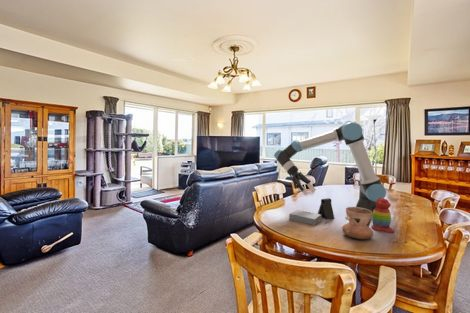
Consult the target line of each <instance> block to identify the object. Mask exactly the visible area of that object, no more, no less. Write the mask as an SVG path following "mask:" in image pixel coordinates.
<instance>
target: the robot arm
mask: <svg viewBox="0 0 470 313" xmlns="http://www.w3.org/2000/svg"><path fill="white" fill-rule="evenodd" d="M364 140H365V137H364V134H363V127H362V125H361V124H360V123H358V122H356V121H355V122H354V121H349V122H346V123H344V124H343V125H341V126H338V127H335V128H333V130H330V131H328V132H324V133H322V134H318V135H314V136H312V137H309V138H305V139H302V140H299V141H298V140H293V141H292V142H291V143H289V145H287V147H286V148H284V149H281V148H279V149H278V150H276V151H275V152H274V155H273V156H274V158H275V159H276V161H277V163H279V164H280V165H281V167H282V168H283V170H285V172H286V173H287V174H288V176H289V177H290V178H291V181H292V183H293V184H294V187H296V189H299V190H300V191H301V193H302V194H303V196H307V195H308V194H309V192H308V190H306V188H305V187H304V186H303V185H302V184H301V182H303V183H305V185H307V187H308V188H309V189H310V191H311V192H312V193H315V191H317V190H316V188H315V186H313V184H312V183H311V182H312V181H311V180H310V178H308V177H307V176H306V175H304V174H303V173H302V172H301V171H299V168H298V167H297V165H295V163H294V162H293V161H292V160H291V159H292V157H294V156H295V155H296V154H297V153H300V152H302V151H306V150H309V149H314V148H316V147H319V146H323V145H326V144H330V143H334V142H342V141H344V143H345V145H346V147H347V146H348V148H349V149H350V152H351V154H352V157H353V160H354V163H355V165H356V167H357V170H358V173H359V175H360V177H361V178H360V180H359V192H358V193H359V194H358V196H359V197H358V200H357V201H356V202H357V203H356V205H355V207H360V208H365V209H368V210H370V211H372V214H373V211H374V209H375V208H376V207H377V206H376V201H377V200H378V199H379V198H380V197H381V198H384V199H386V196H387V189H386V187H385V186H384V185H383V184H382V181H381V179H380V177H379V176H377V175H376V173H375V169H374V167H373V165H372V163H371V160H370V157H369V154H368V151H367V149H366V146H365V145H364ZM298 171H299V172H298ZM300 181H301V182H300Z"/></svg>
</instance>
